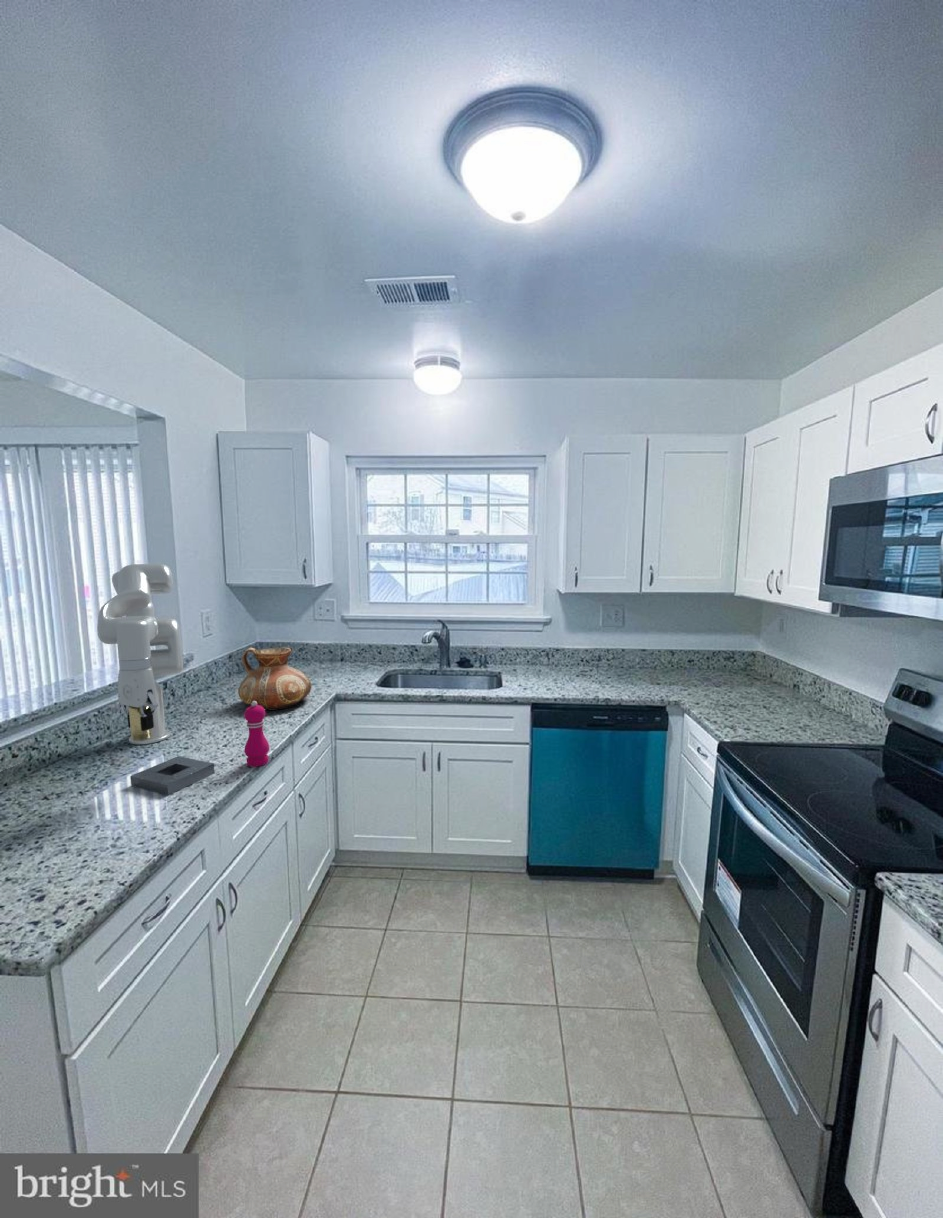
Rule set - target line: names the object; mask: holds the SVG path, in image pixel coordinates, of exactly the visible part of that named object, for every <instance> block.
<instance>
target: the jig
mask: <svg viewBox="0 0 943 1218" xmlns="http://www.w3.org/2000/svg"><path fill="white" fill-rule="evenodd" d="M213 774H215V763H213V762H209V761H204V760H198V759H194V758H189V757H184V756H180V755H178V756H175V757H173V758H170V759H168V760H166V761H163V762H161V763H158V764H156V765H154V766H152V767H148V768H146V769H143V770H142V771H139V772H137V773H134V774H132V775H130V787H132V788H133V787H134V788H137V789H142V790H145V791H149V792H153V793H157V794H162V795H165V796H169V795H172V794H174V793H175V792H177V791H180V790H182V789H185V788H186V787H189V786H190V785H192V784H194V783H197V782H199V781H200V780H203V779H205V778H207V777H209V776H212V775H213Z"/></svg>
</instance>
